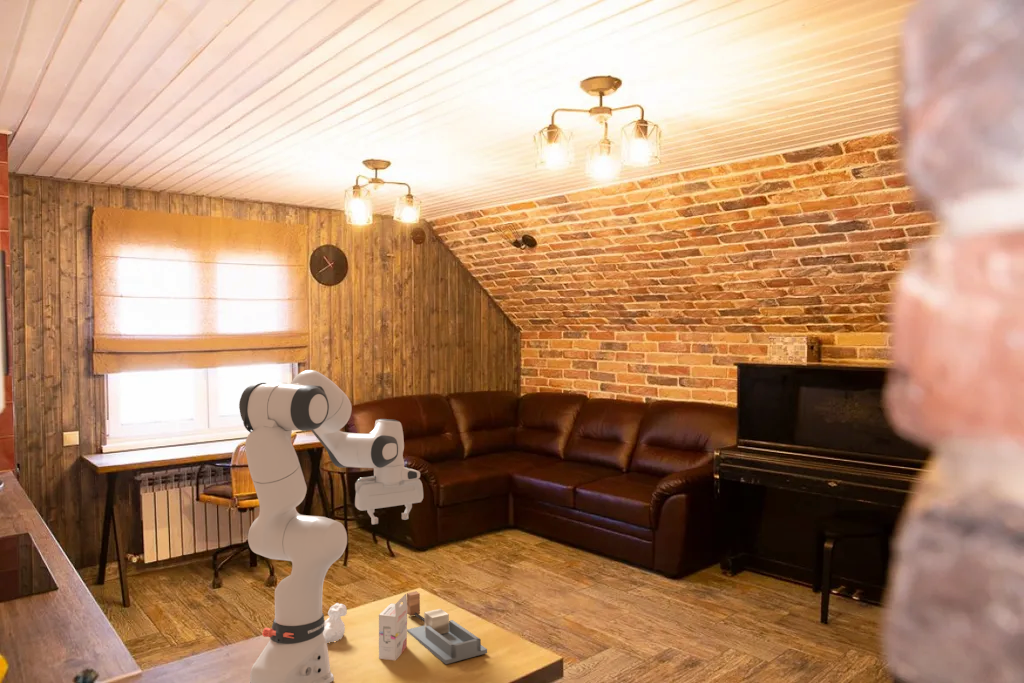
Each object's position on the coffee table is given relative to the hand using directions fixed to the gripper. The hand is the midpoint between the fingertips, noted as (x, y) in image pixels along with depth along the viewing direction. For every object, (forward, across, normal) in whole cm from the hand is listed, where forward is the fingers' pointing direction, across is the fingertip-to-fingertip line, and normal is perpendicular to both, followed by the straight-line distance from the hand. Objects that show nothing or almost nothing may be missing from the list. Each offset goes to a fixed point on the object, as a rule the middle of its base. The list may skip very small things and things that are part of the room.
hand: (390, 521), depth 216 cm
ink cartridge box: (+29, -9, -22) cm, 37 cm away
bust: (+29, -19, -4) cm, 35 cm away
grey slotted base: (+29, +6, -23) cm, 37 cm away
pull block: (+28, +6, -10) cm, 30 cm away
